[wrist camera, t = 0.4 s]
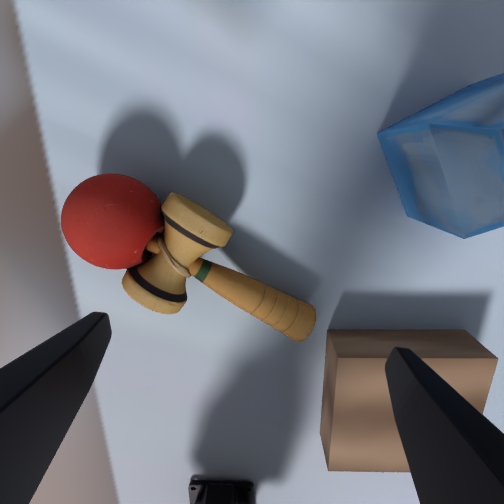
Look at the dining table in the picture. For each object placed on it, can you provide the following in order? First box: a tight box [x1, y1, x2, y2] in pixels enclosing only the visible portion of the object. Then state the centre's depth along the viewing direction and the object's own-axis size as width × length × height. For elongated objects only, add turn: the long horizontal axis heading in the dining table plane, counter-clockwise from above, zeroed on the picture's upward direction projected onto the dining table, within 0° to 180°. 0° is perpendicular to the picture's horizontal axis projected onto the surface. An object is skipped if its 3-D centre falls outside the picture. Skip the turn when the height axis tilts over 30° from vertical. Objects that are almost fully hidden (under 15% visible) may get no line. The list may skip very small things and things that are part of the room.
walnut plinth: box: [320, 330, 498, 472], centre depth 24 cm, size 11×11×4 cm
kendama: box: [61, 174, 316, 342], centre depth 20 cm, size 8×6×18 cm
